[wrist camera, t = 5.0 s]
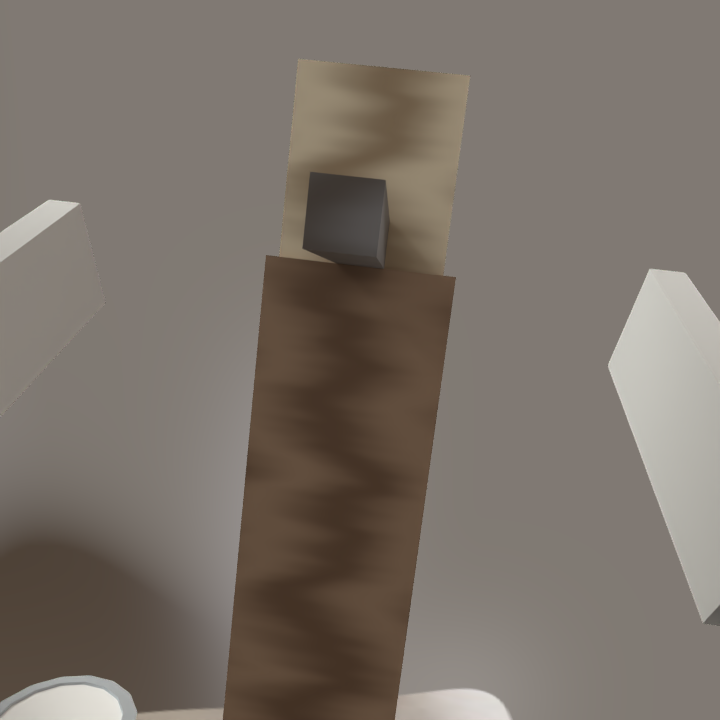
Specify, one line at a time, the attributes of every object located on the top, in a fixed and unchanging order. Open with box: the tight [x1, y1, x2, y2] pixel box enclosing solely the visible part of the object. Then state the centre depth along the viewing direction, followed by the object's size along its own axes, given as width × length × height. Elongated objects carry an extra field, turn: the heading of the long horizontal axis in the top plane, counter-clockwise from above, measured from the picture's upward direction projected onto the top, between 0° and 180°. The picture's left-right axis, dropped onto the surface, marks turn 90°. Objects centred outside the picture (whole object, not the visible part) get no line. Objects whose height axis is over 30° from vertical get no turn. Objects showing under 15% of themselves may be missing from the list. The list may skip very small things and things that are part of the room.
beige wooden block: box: [279, 59, 470, 276], centre depth 21 cm, size 7×14×8 cm, turn 176°
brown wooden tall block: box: [223, 255, 456, 720], centre depth 28 cm, size 8×6×29 cm
